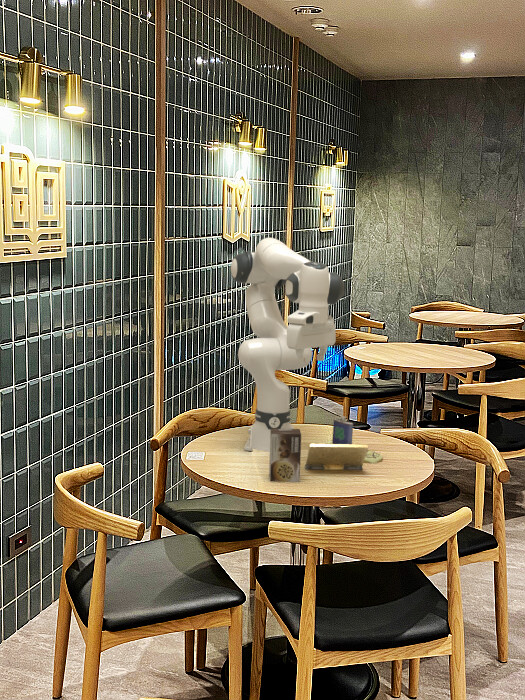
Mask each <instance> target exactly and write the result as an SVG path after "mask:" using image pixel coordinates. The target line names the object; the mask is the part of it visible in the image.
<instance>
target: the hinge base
mask: <svg viewBox="0 0 525 700" xmlns="http://www.w3.org/2000/svg"><path fill="white" fill-rule="evenodd" d="M343 467H344V470H343V471H362V470H363V465H362V466H343ZM304 469H305V470H313V471H314V470H318V471H319V470H321V471H323V470H325V469H324V465H306V463H305V464H304Z"/></svg>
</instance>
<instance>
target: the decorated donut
mask: <svg viewBox="0 0 525 700" xmlns="http://www.w3.org/2000/svg"><path fill="white" fill-rule="evenodd" d="M383 457H384V456H383V455H382V453H380V452H376V451H374V450H367V453H366V456H365V459H364V462H363V464H377V463H381V462H382V461H383Z"/></svg>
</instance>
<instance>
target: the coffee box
mask: <svg viewBox="0 0 525 700" xmlns="http://www.w3.org/2000/svg"><path fill="white" fill-rule="evenodd" d="M301 453H302V433H301V430H300V428H294V429H272V428H271V431H270V452H269V462H268V463H269V466H268V467H269V469H268V470H269V473H268V478H269V482H273V483H275V482H276V483H300V482H301V461H302V460H301V457H302V456H301V455H302V454H301Z"/></svg>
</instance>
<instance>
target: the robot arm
mask: <svg viewBox="0 0 525 700" xmlns="http://www.w3.org/2000/svg"><path fill="white" fill-rule="evenodd" d="M230 272H231V276H232V279H233V280H234V281H235V282H236V283H239V284H250V285H249V286H248V287H247V289H246V291H245V306H246V312H247V316H248V319H249V324H250V327H251V331H252V332H253V334H254V335H255V336H256V338H250V339H246V340H244V341H243V342H242V343H241V344H240V346H239V348H238V351H237V357H238V361H239V363H240V365H241V366H242V368H244V369H245V370H246V371H247V372H249V374H250V375H251V376H252V378H253V380H254V383H255V387H256V409H255V413H254V419H255V421H254V423H253V424H252V425H251V426H250V427H249V428H248V430H247V431H248V432H247V433H248V435H250V436H249V437H248V439H247V441H246V442H245V445H244V447H243V451H248V452H253V450H257V451H261V452H268V453H270V431H271V428H272V429H295V427H294V426H293V425H292V424H291V422H290V421H291V416H292V415H291V409H290V403H291V401H290V400H291V398H290V397H291V396H290V395H291V390H290V388H289V386H288V384H286V383H285V382H284V381H282V380H281V379H278V378H277V377H276V371H292V370H293V371H295V370H298V369H302V368H307V366H308V365H309V364H310V363H311V360H312V357H313V356H312V355H313V351H312V348H313V349H314V348H318V349H319V351H318V354H317V355H316V361H319V362H322V361H324V360H325V355H326V353H327V351H328V346H334V345H335V343H336V339H337V337H336V336H337V335H336V324H335V319H334V318H333V316H332V315H331V314H330V315H329V305H336V304H337V303H339V300H341V299H342V297H343V296H344V293H345V282H344V281H343V279H342V277H341V276H340V275H339V274H338V273H337V272H336V271H335V272H334V271H332V272H331V271H329V269H328V266H327V265H326V264H325V263H322V262H317V261H312V260H310V259H308V258H307V257H305V256H303V255H301V254H299V253H297V252H295V251H294V250H292V248H290V247H289V246H287V244H285V243H284V242H282V241H281V240H279V239H277V238H274V237H265V238H263V239H261V240H260V241H259V242H258V244H257V246H256V248H255V251H253V252H249V251H248V250H246V251H244V252H242V253H241V252H240V253H238V254H236V255H235V256H234V257H233V258H232V260H231V264H230ZM283 285H284V294H285V296H286V298H287V299H288V300H289V301H290V302H292V303H295V304H298V309H297V310H296V311H294V312H293V313H292V314H290V315H288V316H287V323H289V324H288V325H286V323H285V321H284V319H283V317H282V313H281V311H280V309H279V305H278V302H277V299H276V295H275V289H277V290H280V289H282V288H283Z"/></svg>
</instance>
